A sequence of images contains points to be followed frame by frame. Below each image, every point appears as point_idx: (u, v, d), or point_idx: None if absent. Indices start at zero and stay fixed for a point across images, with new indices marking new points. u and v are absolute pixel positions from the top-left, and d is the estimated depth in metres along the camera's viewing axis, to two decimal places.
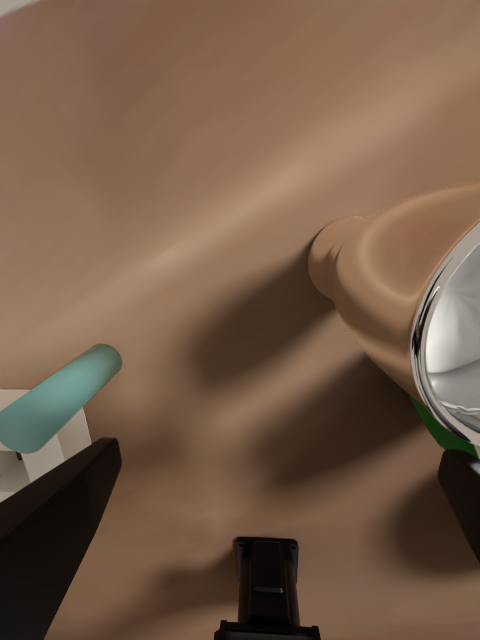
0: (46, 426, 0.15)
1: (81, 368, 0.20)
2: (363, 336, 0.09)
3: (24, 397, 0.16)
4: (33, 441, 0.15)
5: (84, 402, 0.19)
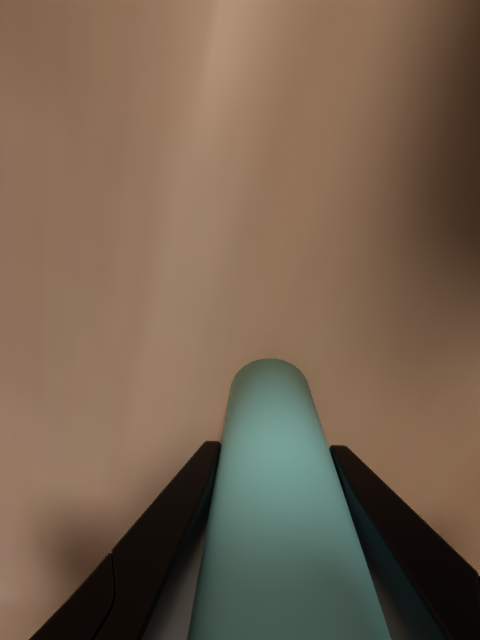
0: None
1: (260, 438, 0.06)
2: None
3: None
4: None
5: None
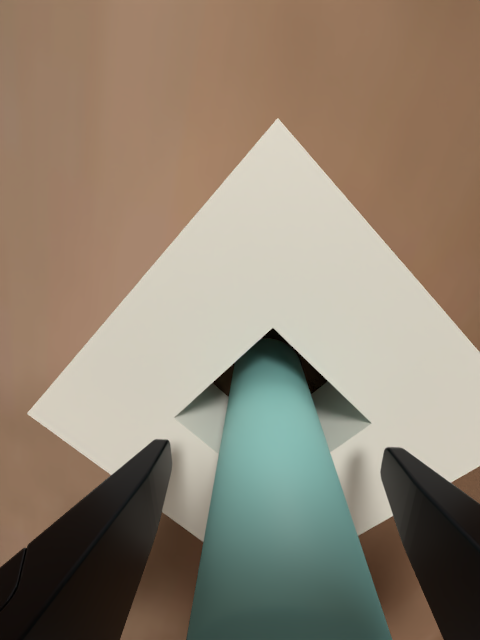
0: (360, 602, 0.04)
1: (259, 389, 0.08)
2: None
3: (214, 539, 0.05)
4: None
5: (328, 449, 0.07)
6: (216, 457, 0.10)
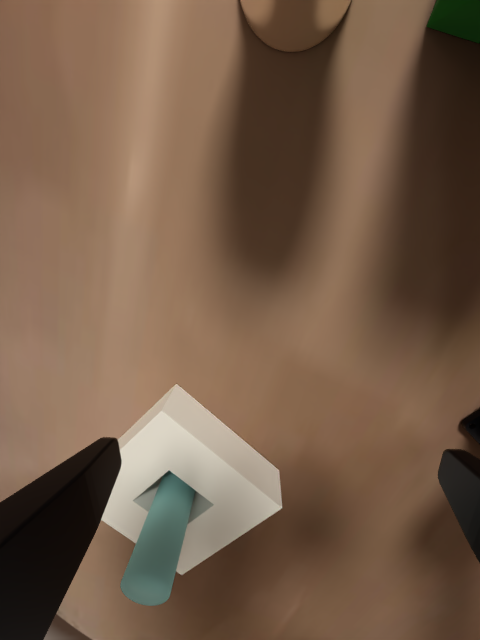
0: (159, 572, 0.16)
1: (164, 494, 0.21)
2: None
3: (131, 556, 0.17)
4: (160, 590, 0.16)
5: (184, 521, 0.19)
6: None
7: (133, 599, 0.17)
